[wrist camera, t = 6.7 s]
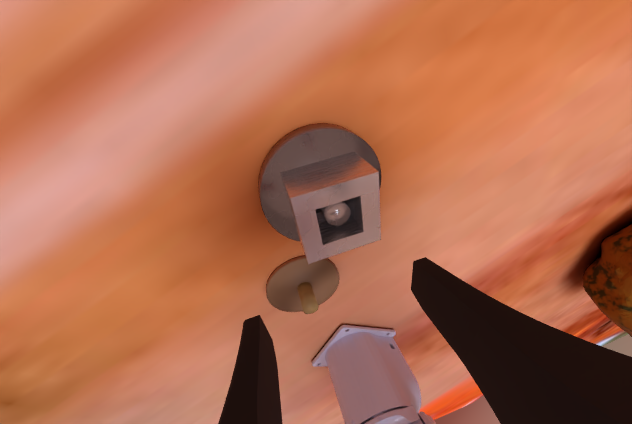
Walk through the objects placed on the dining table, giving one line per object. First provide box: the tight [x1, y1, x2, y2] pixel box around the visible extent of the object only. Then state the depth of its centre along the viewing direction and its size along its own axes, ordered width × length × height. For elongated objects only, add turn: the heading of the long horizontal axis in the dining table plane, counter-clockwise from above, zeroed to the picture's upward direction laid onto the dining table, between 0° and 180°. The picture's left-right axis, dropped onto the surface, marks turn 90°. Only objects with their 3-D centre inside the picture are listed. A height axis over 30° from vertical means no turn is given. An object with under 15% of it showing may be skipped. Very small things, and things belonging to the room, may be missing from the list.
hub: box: [258, 123, 381, 241], centre depth 18 cm, size 9×9×4 cm
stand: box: [266, 256, 339, 314], centre depth 24 cm, size 7×7×3 cm
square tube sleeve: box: [280, 152, 381, 264], centre depth 17 cm, size 5×5×4 cm
